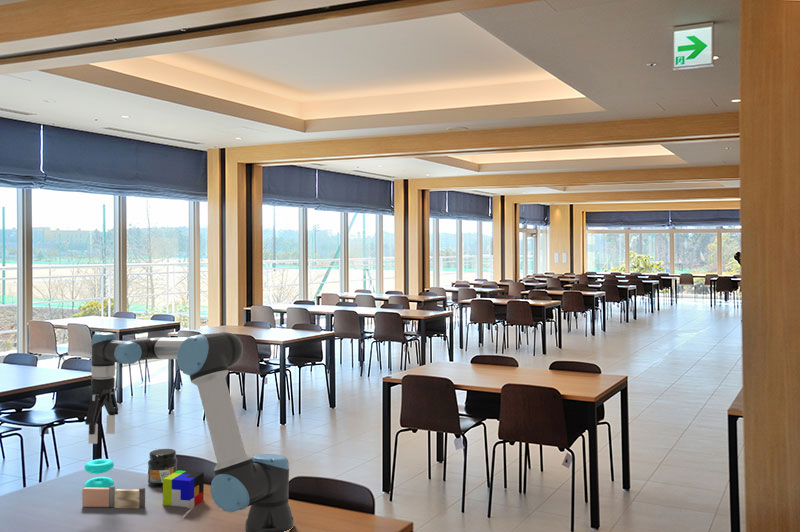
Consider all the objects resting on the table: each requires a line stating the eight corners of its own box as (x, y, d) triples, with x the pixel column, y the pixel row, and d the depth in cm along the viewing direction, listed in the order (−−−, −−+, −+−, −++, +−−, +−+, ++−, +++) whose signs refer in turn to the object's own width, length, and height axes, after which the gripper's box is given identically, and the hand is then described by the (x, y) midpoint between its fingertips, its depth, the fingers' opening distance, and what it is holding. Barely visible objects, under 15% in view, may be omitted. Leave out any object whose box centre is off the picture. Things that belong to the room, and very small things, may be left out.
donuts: (119, 459, 258) (100, 466, 248) (119, 486, 258) (100, 494, 248) (98, 456, 261) (78, 463, 252) (98, 483, 261) (78, 491, 252)
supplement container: (167, 488, 255) (167, 456, 255) (141, 486, 258) (142, 454, 258) (182, 480, 266) (182, 449, 266) (158, 478, 268) (158, 447, 268)
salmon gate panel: (115, 505, 234) (115, 486, 234) (113, 507, 232) (113, 487, 232) (84, 504, 234) (84, 485, 234) (82, 506, 232) (82, 487, 232)
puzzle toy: (189, 510, 234) (189, 481, 234) (162, 507, 236) (162, 478, 236) (203, 500, 244) (203, 472, 244) (177, 498, 246) (178, 470, 246)
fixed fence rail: (146, 507, 234) (146, 487, 234) (143, 509, 232) (143, 489, 232) (116, 506, 234) (117, 487, 234) (114, 508, 232) (114, 489, 232)
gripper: (108, 371, 252) (107, 429, 252) (74, 383, 227) (73, 447, 228) (128, 371, 252) (127, 429, 252) (97, 383, 227) (96, 448, 227)
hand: (102, 438), depth 240 cm, fingers open, 13 cm apart
